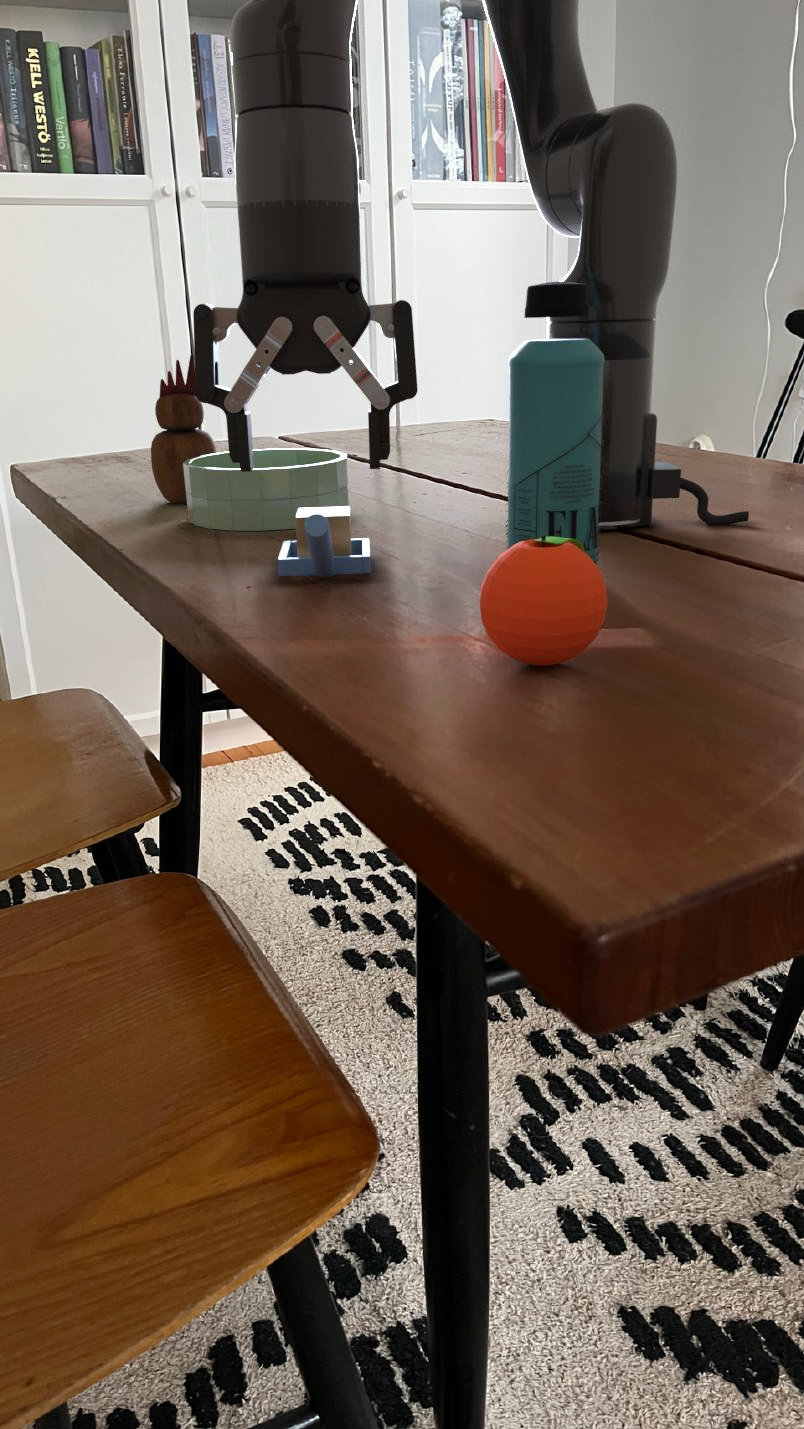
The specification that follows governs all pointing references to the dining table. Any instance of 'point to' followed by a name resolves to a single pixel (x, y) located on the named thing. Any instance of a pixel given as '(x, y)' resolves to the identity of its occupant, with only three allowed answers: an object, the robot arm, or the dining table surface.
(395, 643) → the dining table surface
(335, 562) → the frame with upright peg
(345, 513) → the brown block
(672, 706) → the dining table surface
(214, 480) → the mint green round tray
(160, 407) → the wooden figurine
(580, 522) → the beverage bottle
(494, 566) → the clementine
